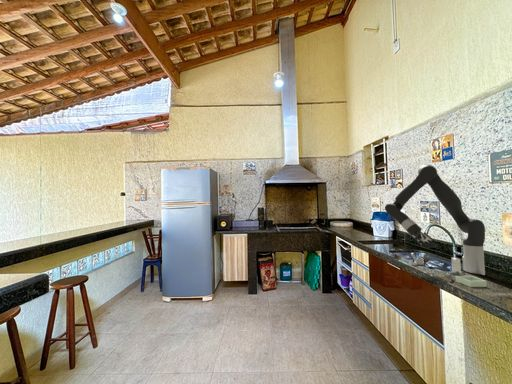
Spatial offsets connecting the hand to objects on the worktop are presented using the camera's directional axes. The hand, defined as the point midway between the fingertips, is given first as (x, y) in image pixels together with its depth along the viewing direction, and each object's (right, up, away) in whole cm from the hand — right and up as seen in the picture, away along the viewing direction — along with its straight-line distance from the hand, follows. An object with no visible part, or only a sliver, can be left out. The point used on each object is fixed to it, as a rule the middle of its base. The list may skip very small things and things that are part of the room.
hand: (432, 247), depth 141 cm
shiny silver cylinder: (+6, -15, -11) cm, 19 cm away
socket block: (+6, -16, -11) cm, 20 cm away
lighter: (+7, -18, +23) cm, 30 cm away
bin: (+6, -16, -19) cm, 25 cm away
